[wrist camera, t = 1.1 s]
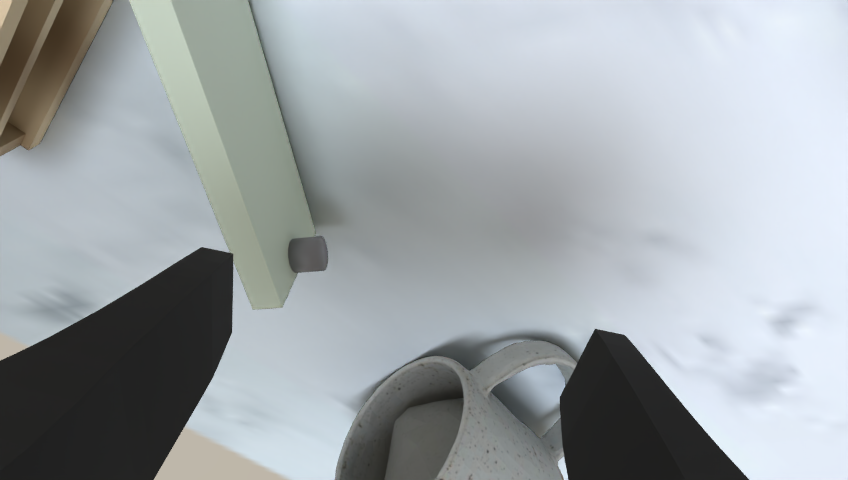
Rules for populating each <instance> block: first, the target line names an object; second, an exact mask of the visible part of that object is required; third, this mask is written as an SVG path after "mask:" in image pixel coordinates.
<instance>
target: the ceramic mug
mask: <svg viewBox="0 0 848 480" xmlns="http://www.w3.org/2000/svg"><path fill="white" fill-rule="evenodd" d="M542 364H546V365H552V364H556V365H557V366H558V368H559V369H560V371H561V372H562V374H563V376H564V378H565V385H566V384H567V382H568V381H569V379H570V377H571V375H572V373H573V371H574V369H575V367H576V365H577V362H576V361H575V360H574V359H572V358H571V357H570V356H569V355H568V354H567V353H566V352H565V351H564V350H563V349H561V348H560V347H558V346H557V345H555V344H552V343H549V342H546V341H523V342H520V343H514V344H512V345H509V346H507V347H505V348H503V349H502V350H500V351H498V352H497V353H495V354H493V355H492V356H490V357H488V358H487V359H485V360H484V361H483V362H481V363H480V364H479V365H477V366H476V367H475V368H473V369H472V370H470V371H469V370H467V369H466V368H465V367H463V366H462V365H461V364H460V363H458V362H457V361H455V360H453V359H450V358H448V357H443V356H429V357H426V358H422V359H418V360H416V361H414V362H412V363H410V364H408V365H406V366H404V367H402V368H401V369H399V370H398V371H396V372H395V373H394V374H393V375H391V376H390V377H389V378H388V379H387V380H385V381H384V382H383V383H382V384H381V385H380V386H379V387H378V388H377V389H376V390H375V391H374V393H373V394H372V396H371V397H370V398H369V399H368V401H367V402H366V403H365V404H364V406H363V407H362V408H361V410H360V411H359V413H358V414H357V416H356V418H355V419H354V421H353V423H352V426H351V428H350V430H349V432H348V434H347V436H346V439H345V441H344V444H343V447H342V450H341V453H340V456H339V460H338V463H337V467H336V475H335V480H564V479H563V476H562V474H561V472H560V469H559V467H558V461H559V460H560V459H561V458H562V457H563V456H564V452H563V446H562V432H561V417H560V419H559V420H558V421H557V422H556V423H555V424H554V425H553V427H552V428H551V429H550V430H549V431H548V432H547V433H546V434H545V435H544V436H542V437H541V438H539V437H538V436H537V435H536V434H535V433H534V432H533V431H531V430H530V428H529V427H527V426H526V425H525V424H523V423H522V422H521V421H519V420H518V419H517V418H516V417H515V416H514V415H513V414H512V413H511V412H510V411H509V410H508V409H507V408H506V407H505V406H504V405H503V404H502V403H501V401H500V400H499V399H497V398H496V397H495V396H494V395H493V394H492V392H491V390H492V389H493V388H494V386H496V385H498V384H499V383H501V382H503V381H505V380H507V379H508V378H510V377H512V376H513V375H515V374H517V373H519V372H521V371H523V370H525V369H527V368H529V367H533V366H537V365H542Z"/></svg>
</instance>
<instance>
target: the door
mask: <svg viewBox="0 0 848 480" xmlns="http://www.w3.org/2000/svg"><path fill="white" fill-rule="evenodd" d="M129 2H130V4H131V7H132V9H133V12H134V14H135V17H136V19H137V22H138V24H139V27H140V29H141V32H142V34H143V37H144V39H145V42H146V44H147V47H148V49H149V52H150V54H151V57H152V59H153V62H154V64H155V67H156V69H157V72H158V74H159V77H160V79H161V82H162V84H163V87H164V89H165V92H166V94H167V97H168V99H169V102H170V104H171V107H172V109H173V112H174V114H175V117H176V119H177V122H178V124H179V127H180V129H181V132H182V134H183V137H184V139H185V142H186V144H187V147H188V149H189V152H190V154H191V157H192V159H193V162H194V164H195V167H196V169H197V172H198V174H199V177H200V179H201V181H202V184H203V186H204V189H205V191H206V194H207V196H208V199H209V201H210V204H211V206H212V209H213V211H214V214H215V216H216V219H217V221H218V224H219V226H220V229H221V231H222V234H223V236H224V239H225V241H226V244H227V246H228V249H229V251H230V253H232V254H233V261H234V264H235V266H236V269H237V271H238V274H239V276H240V279H241V281H242V284H243V286H244V289H245V291H246V294H247V296H248V299H249V301H250V304H251V306H252V309H253V310H257V309H270V308H282V307H283V305H284V303H285V301H286V298H287V296H288V294H289V292H290V289H291V287H292V285H293V283H294V280H295V278H296V276H297V274H298V273H301V272H313V271H324V270H325V269H326V267H327V263H328V251H327V245H326V242H325V240H324V238H323V237H322V236H317V237H314V236H315V234H316V231H315V228H314V224H313V221H312V218H311V214H310V211H309V207H308V204H307V201H306V197H305V194H304V190H303V187H302V183H301V180H300V177H299V173H298V170H297V166H296V163H295V160H294V156H293V153H292V149H291V146H290V142H289V139H288V136H287V132H286V129H285V125H284V122H283V119H282V115H281V112H280V108H279V105H278V101H277V98H276V95H275V91H274V88H273V84H272V81H271V78H270V74H269V71H268V67H267V64H266V60H265V57H264V54H263V50H262V47H261V43H260V40H259V37H258V33H257V30H256V26H255V23H254V19H253V16H252V13H251V9H250V6H249V2H248V0H129Z"/></svg>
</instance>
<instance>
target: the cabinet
mask: <svg viewBox="0 0 848 480" xmlns="http://www.w3.org/2000/svg"><path fill="white" fill-rule="evenodd" d="M112 2H113V0H0V156H2V155H3V154H5V153H7V152H9V151H11V150H13V149H14V148H16V147H18V146H20V145H21V146H23V147H24V148H26V149H27V150H30V149H32V148H34V147H35V146H37V145H39V144H40V142H41V140H42V138H43V136H44V134H45V132H46V130H47V128H48V127H49V125H50V123H51V121H52V119H53V117H54V115H55V113H56V111H57V109H58V107H59V105H60V103H61V101H62V99H63V97H64V95H65V93H66V91H67V90H68V88H69V86H70V84H71V82H72V80H73V78H74V76H75V74H76V72H77V70H78V68H79V66H80V64H81V62H82V60H83V58H84V56H85V54H86V53H87V51H88V49H89V47H90V45H91V43H92V41H93V39H94V37H95V35H96V33H97V31H98V29H99V27H100V25H101V23H102V21H103V19H104V18H105V16H106V14H107V12H108V10H109V8H110V6H111V4H112Z"/></svg>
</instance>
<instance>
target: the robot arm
mask: <svg viewBox="0 0 848 480" xmlns="http://www.w3.org/2000/svg"><path fill="white" fill-rule="evenodd" d="M232 303H233V254H232V253H227V252H222V251H218V250H213V249H208V248H203V247H201V248H200V249H198V250H196V251H195V252H193V253H191V254H190V255H188V256H186V257H185V258H183V259H181V260H180V261H178V262H177V263H175V264H173V265H172V266H170V267H169V268H167V269H166V270H164V271H162V272H161V273H159V274H158V275H156V276H154V277H153V278H151V279H150V280H148V281H146V282H145V283H143V284H142V285H140V286H138V287H137V288H135V289H133V290H132V291H130V292H128V293H127V294H125V295H123V296H122V297H120V298H118V299H117V300H115V301H113V302H112V303H110V304H108V305H107V306H105V307H103V308H102V309H100V310H98V311H96V312H95V313H93V314H91V315H89V316H87V317H85V318H84V319H82V320H80V321H78V322H76V323H74V324H73V325H71V326H69V327H67V328H65V329H63V330H62V331H60V332H58V333H56V334H54V335H52V336H51V337H49V338H47V339H45V340H43V341H41V342H39V343H37V344H35V345H33V346H31V347H29V348H26V349H25V350H22V351H20V352H18V353H16V354H14V355H12V356H10V357H7V358H5V359H3V360H1V361H0V480H154V478H155V476H156V474H157V473H158V471H159V469H160V468H161V466H162V464H163V462H164V461H165V459H166V457H167V456H168V454H169V452H170V450H171V449H172V447H173V445H174V444H175V442H176V440H177V439H178V437H179V435H180V433H181V432H182V430H183V428H184V427H185V425H186V423H187V421H188V420H189V418H190V416H191V415H192V413H193V411H194V409H195V408H196V406H197V404H198V403H199V401H200V399H201V397H202V396H203V394H204V392H205V390H206V389H207V387H208V385H209V383H210V382H211V380H212V378H213V376H214V373H215V371H216V369H217V367H218V364H219V362H220V360H221V357H222V355H223V353H224V350H225V348H226V345H227V343H228V341H229V338H230V336H231V333H232ZM560 415H561V432H562V446H563V452H564V457H565V463H566V468H567V474H568V479H569V480H749V479H748V478H747V477H746V476H745V475H744V474H743V473H742V471H741V470H740V469H739V468H738V467H737V466H736V465H735V464H734V463H733V462H732V461H731V460H730V458H729V457H728V456H727V455H726V454H725V453H724V452H723V451H722V450H721V449H720V448H719V446H718V445H717V444H716V443H715V442H714V441H713V440H712V438H711V437H710V436H709V435H708V434H707V433H706V432H705V431H704V429H703V428H702V427H701V426H700V425H699V424H698V422H697V421H696V420H695V419H694V418H693V416H692V415H691V414H690V413H689V412H688V410H687V409H686V408H685V407H684V406H683V405H682V403H681V402H680V401H679V400H678V398H677V397H676V396H675V395H674V394H673V392H672V391H671V390H670V389H669V387H668V386H667V385H666V384H665V383H664V381H663V380H662V379H661V378H660V376H659V375H658V374H657V373H656V372H655V370H654V369H653V368H652V367H651V365H650V364H649V363H648V362H647V361H646V359H645V358H644V357H643V356H642V354H641V353H640V352H639V351H638V350H637V348H636V347H635V346H634V345H633V344H632V343H631V342H630V340H629V339H628V338H627V337H626V336H625V335H622V334H617V333H612V332H607V331H603V330H598V329H595V330H594V332H593V334H592V336H591V338H590V340H589V342H588V344H587V346H586V348H585V350H584V352H583V353H582V355H581V357H580V359H579V361H578V363H577V365H576V367H575V369H574V371H573V373H572V375H571V377H570V379H569V381H568V382H567V384H566V386H565V388H564V390H563V392H562V394H561V396H560Z"/></svg>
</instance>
